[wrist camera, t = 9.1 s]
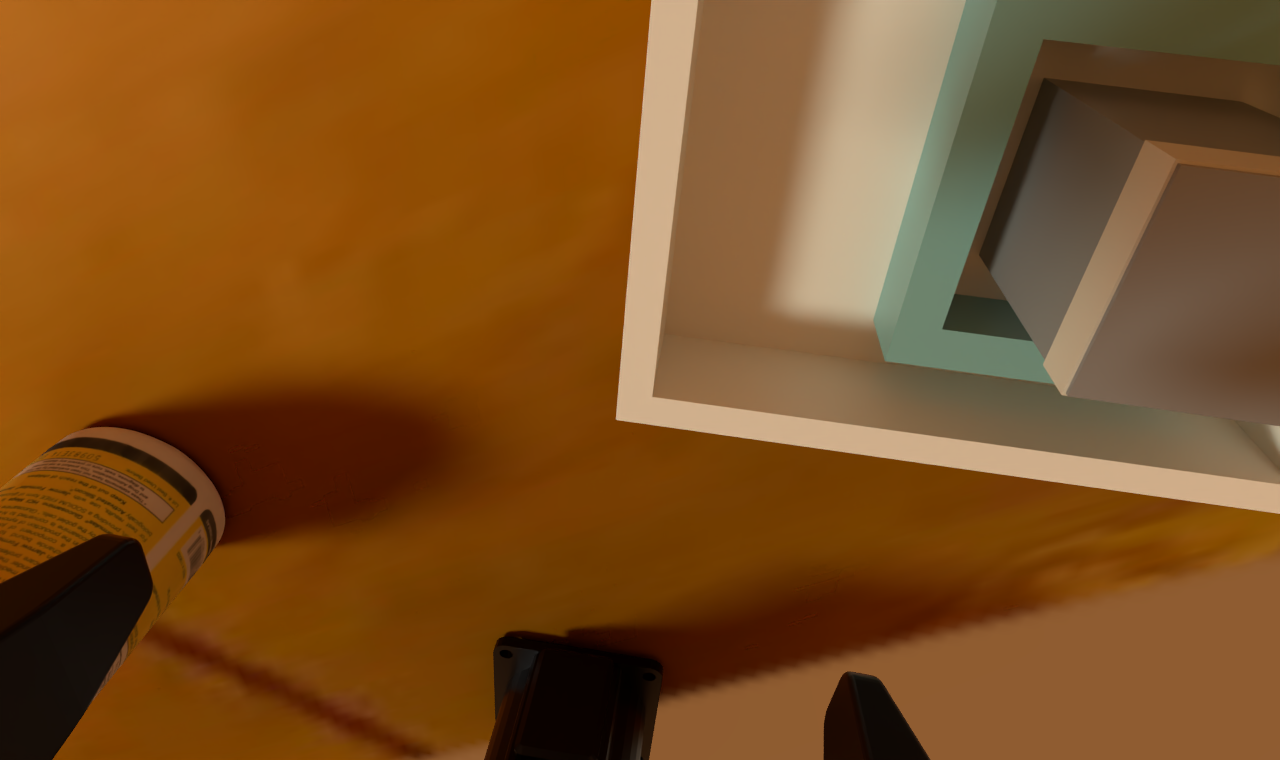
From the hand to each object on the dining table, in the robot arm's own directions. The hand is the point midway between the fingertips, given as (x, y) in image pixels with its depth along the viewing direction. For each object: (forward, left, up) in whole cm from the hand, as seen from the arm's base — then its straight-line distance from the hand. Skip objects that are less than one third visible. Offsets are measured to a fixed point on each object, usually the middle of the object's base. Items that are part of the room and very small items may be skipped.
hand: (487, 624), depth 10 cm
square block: (+3, -11, -11) cm, 16 cm away
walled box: (+3, -9, -12) cm, 15 cm away
